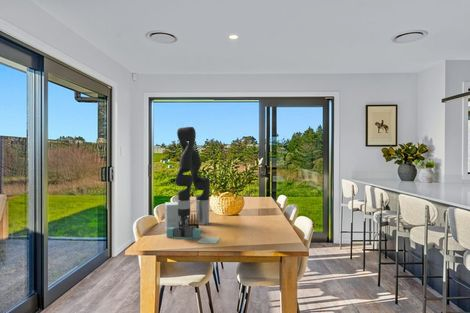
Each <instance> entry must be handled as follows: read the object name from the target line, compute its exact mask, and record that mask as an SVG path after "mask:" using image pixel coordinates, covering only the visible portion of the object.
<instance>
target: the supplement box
mask: <svg viewBox="0 0 470 313" xmlns="http://www.w3.org/2000/svg"><path fill="white" fill-rule="evenodd" d="M180 218H181V216H178V201H172V202H171V201H169V202H167V201H166V202H164V230H165V231H166V233H167V229H168V228H169V227H176V226H179V221H180Z"/></svg>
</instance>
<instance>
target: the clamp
mask: <svg viewBox="0 0 470 313" xmlns="http://www.w3.org/2000/svg"><path fill="white" fill-rule="evenodd" d="M174 228H175V227H169V228H168V229H167V232H166V238H172V239H179V240H180V239H182V240H183V239H184V240H192V239H194V240H195V239H196V240H198V239H199V240H200V239H201V238H202V228H200V227H199V228H195V229H193V238H192V237H176V236H174Z"/></svg>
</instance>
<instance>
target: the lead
mask: <svg viewBox="0 0 470 313" xmlns="http://www.w3.org/2000/svg"><path fill="white" fill-rule="evenodd" d="M193 229H194V227H185V236H184V237H192V239H193ZM174 236H176V237H181V231H180V230H179V226H176V227H175V228H174Z"/></svg>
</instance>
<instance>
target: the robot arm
mask: <svg viewBox="0 0 470 313" xmlns="http://www.w3.org/2000/svg"><path fill="white" fill-rule="evenodd" d="M196 133H197V132H196V129H195V128H194V127H193V126H185V127H179V128H178V129H177V131H176V135H177V138H178V142H179V144H180V146H181V148H182V150H183V152H182V153H181V156H180V158H179V166H178V171H177V174H176V175H175V179H174V180H175V181H174V182H175V185H176V186H178V187H186V188H185V189H180V190H179V191H178V193H177V194H178V197H177V199H178V200H177V202H178V216H181V218H180V221H179V230H180V231H181V237H184V236H185V227H188V226H189V217H188V216H189V215H190V216H191V189H192V186H193V187H194V189H195V190H196V191H202V193H200V194H198V195H196V197H195V198H196V199H195V205H196V206H195V215H196V218H197V213H198V219H199V226H200V225H201V226H203V225H210V195H211V194H210V193H211V192H210V191H211V181H210V178H209V177H206V176H205V177H200V176H199V171H200V169H201V166H202V160H201V157H200V154H199V152H197V151H196V149H194V147H195V141H196V137H197V136H196ZM189 172H190V174H185V173H189Z"/></svg>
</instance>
